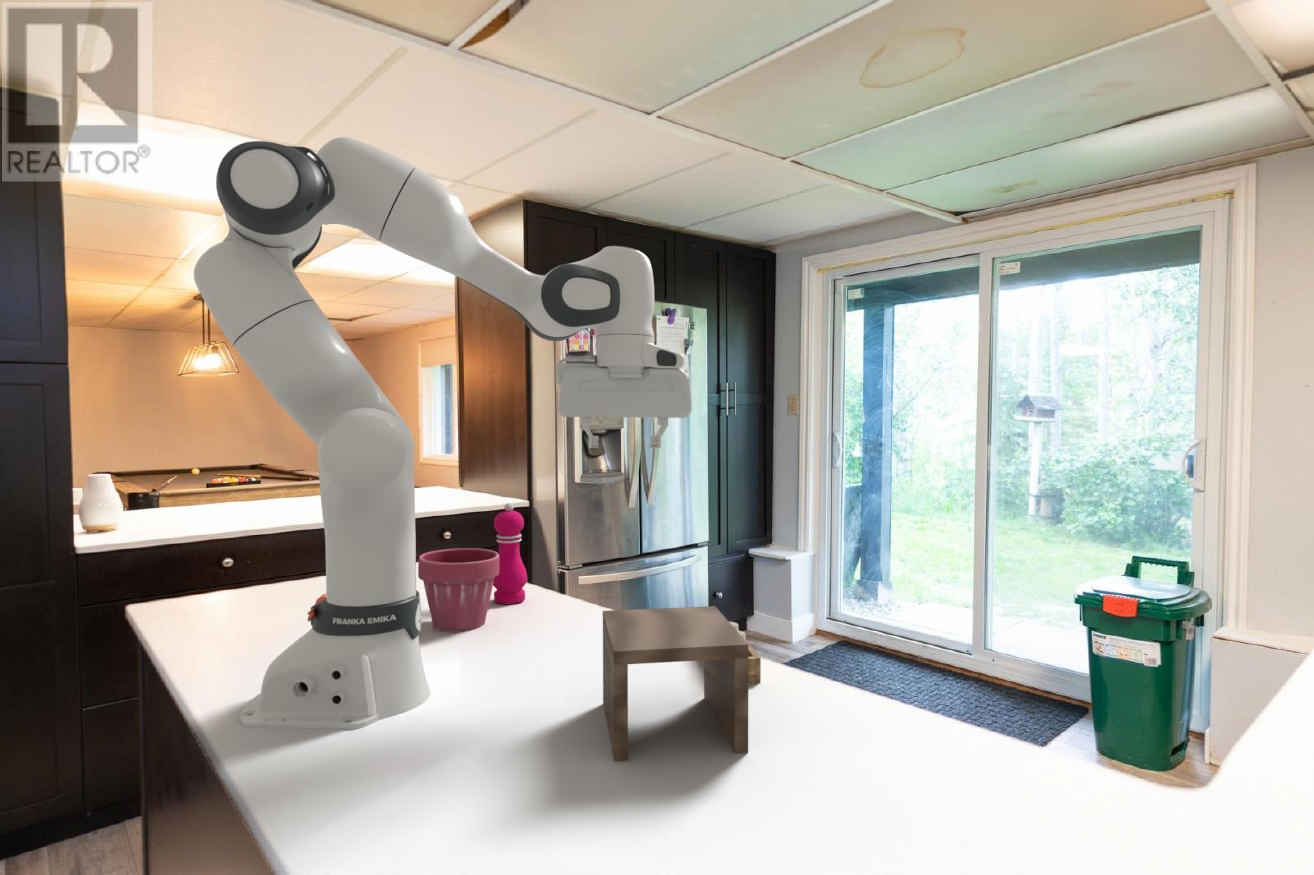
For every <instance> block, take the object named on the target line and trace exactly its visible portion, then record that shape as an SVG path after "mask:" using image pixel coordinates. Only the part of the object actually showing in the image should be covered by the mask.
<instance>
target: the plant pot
mask: <svg viewBox="0 0 1314 875" xmlns="http://www.w3.org/2000/svg"><path fill="white" fill-rule="evenodd" d="M417 566H418V568H417V571H418V572H417V577H418V579H419V580H421V581H423V585H424V590H425V595H426V599H427V604H428V609H429V613H430V618H431V620H432V621H431V622H432V626H433V628H434V629H436V630H437V631H440V630H441V631H440V632H446V631H461V632H465V631H464V630H468V631H472V629H473V630H476V629H479V628H481V627H482V625H483V626H484V625H485V623H486V619H487V614H488V611H489V605H490V602H491V601H490V600H491V598H492V592H493V591H492V590H493V587H494V586H493V582H494V578H495V577H496V576H498V574H499V552H496V551H494V550H491V549H487V548H486V549H485V548H478V547H477V548H474V547H473V548H470V547H469V548H468V547H466V548H465V547H464V548H463V547H462V548H460V547H459V548H447V549H439V550H431V551H428V552H425V553H423V554H421V555H419V557H418V563H417ZM480 626H481V627H480ZM478 627H479V628H478Z"/></svg>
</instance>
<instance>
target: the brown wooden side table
mask: <svg viewBox="0 0 1314 875" xmlns="http://www.w3.org/2000/svg"><path fill="white" fill-rule="evenodd" d="M729 622H730V621H729V620H728V619H727V618H726V617H725V616H724V614H723V613H722V612H721V611H720V610H719V609H718V607H716V606H715V605H714V606H712V605H711V606H710V605H709V606H708V605H707V606H688V607H687V606H686V607H665V608H664V607H662V608H660V607H659V608H645V609H644V608H640V609H624V610H623V609H622V610H621V609H617V610H602V701H603V702H602V704H603V710H604V715H605V721H606V727H607V730H608V731H607V732H608V738H609V741H610V747H611V752H612V758H613V762H614V763H617V762H619V763H620V762H629V729H628V728H629V709H628V708H629V699H628V698H629V696H628V695H629V690H628V689H629V686H628V685H629V681H628V678H629V676H628V675H629V673H628V671H629V670H628V667H629V665H642V664H659V663H661V664H663V663H674V662H675V663H679V662H694V661H695V662H697V661H703V699H704V700H705V702H706V704H707V706H708V708H709V710H710V712H711V714H712V715H713V717H714V719H715V721H716V722H717V724H718V726H719V728H720V729H721V731H722V732H723V735H724V737H725V738H726V741H727V742H728V744H729V745H730V747H731V749H732V751H733V752H734V754H735V755H736V754H739V755H740V754H748V753H749V683H748V643H747V642H746V641H745V640H744V639H743V638H742V636H741V635H740V634H739V633H738V632H737V631H736V630H735V628H734V627H733V626H732V625H731V624H730V623H729Z"/></svg>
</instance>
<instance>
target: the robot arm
mask: <svg viewBox="0 0 1314 875" xmlns="http://www.w3.org/2000/svg"><path fill="white" fill-rule="evenodd" d="M309 154H310V155H312V156H313V157H311V156H310V155H309ZM215 183H216V184H215V187H216V193H217V197H218V201H220V202H219V203H220V205H221V206H222V209H223V212H224V215H225V219H226V221H227V224H228V227H229V228H228V233H227V235H226V237H225V238H224V239H223V240H222V241H220V242H219V243H216V244H214V245H213V246H211V247H210V248H208V249H206V251H205V252H204V253H202V254H201V255H200V256H199V259H197V261H196V264H195V266H194V269H193V279H194V283H195V286H196V288H197V289H198V291H199V293H200V295H201V298H202V299H203V301H204V303H205V305H206V306H207V308H208V310H209V312H210V313H211V316H212V317H213V319H214V320H215V322H216V324H217V325H218V327H219V328H220V330H221V332H222V333H223V334H224V336H225V337H226V338H227V339H228V341H229V343H230V344H231V345H232V346H233V348H234V349H235V350H236V352H237V353H238V354H239V357H241V358H242V360H243V361H244V362H245V363H246V365H247V366H248V367H249V369H250V370H251V371H252V372H253V374H254V375H255V377H256V378H257V379H258V381H259V382H260V383H261V384H262V385H263V387H264V389H266V391H267V392H268V393H269V395H270V396H271V397H272V398H273V400H274V401H275V402H276V403H277V404H278V405H279V406H280V407H281V408H282V409H283V410H284V411H285V412H286V413H287V414H288V415H289V416H290V417H291V418H292V419H293V421H295V423H297V425H298V426H299V427H300V428H301V429H302V431H304V433H305V434H306V435H307V436H308V438H310V440H311V441H312V442H313V443H314V444H315V445H316V446H317V461H318V462H317V464H318V478H319V479H318V480H319V490H320V492H319V493H320V501H321V502H320V503H321V512H322V521H323V522H322V523H323V529H324V531H323V532H324V541H325V542H324V543H325V586H326V588H325V593H323V594H321V595H320V597H318V598H317V599H316V600H315V602H314V604H313V605H312V606H311V607H310V610H309V611H308V612H307V615H308V617H307V621H308V622H310V626H311V629H309V630H307V632H306V633H304V634H303V635H302V636H300V637H299V638H297V640H295V641H294V642H293V643H291V645H289V646H288V647H287V648H286V649H285V650H283V651H282V652H281V653H280V654H279V655H277V656H276V657H275V659H273V660H272V661H271V663H270V664H269V666H268V667H267V669H266V671H265V674H264V675H263V676H264V677H263V680H262V684H261V687H260V688H261V689H260V693H259V694H257V695H255V696H254V697H253V698H252V699H251V700H249V702H247V704H245V706H244V708H242V710H241V713H240V715H239V723H240V725H241V726H242V727H244V728H245V727H247V728H248V727H249V728H278V729H279V728H281V729H282V728H283V729H284V728H285V729H287V728H289V729H290V728H291V729H325V730H326V729H330V730H333V729H334V730H359V729H363V728H366V727H369V726H370V725H373V724H375V723H377V722H379V721H381V720H384V719H388V718H392V717H395V716H398V715H401V714H405V713H407V712H409V711H412V710H413V709H417V708H418V707H419V706H422V705H423V704H424V703H425V702H427V701H428V699H429V698H430V696H431V690H430V686H429V684H428V681H427V677H426V674H425V669H424V664H423V660H422V653H421V646H420V645H421V644H420V636H419V635H420V633H421V629H422V603H421V599H420V592H419V591H418V590H417V564H416V563H417V550H416V548H417V546H416V543H417V540H416V539H417V538H416V537H417V536H416V506H415V505H416V504H415V503H416V502H415V500H416V498H415V494H416V493H415V448H416V447H415V440H414V436H413V432H412V431H411V428H410V427H409V425H408V424H407V422H405V420H404V419H403V417H402V416H401V415H400V414H399V412H398V411H397V409H396V408H395V407H394V406H393V404H392V402H390V400H389V399H388V397H386V394H385V393H384V392H382V389H381V388H380V387H379V385H378V384H377V383H376V382H375V381H374V379H373V377H372V376H371V374H370V373H368V371H367V370H366V368H365V367H364V365H363V364H362V363H361V362H360V360H359V359H358V358H357V357H356V355H355V354H354V352H353V351H352V350H351V348H350V347H349V346H348V344H347V343H346V342H345V340H344V339H343V337H342V336H341V335H340V333H339V332H338V331H337V329H336V328H335V327H334V325H333V324H332V323H331V321H330V319H328V317H327V315H326V314H325V313H324V312H323V310H322V309H321V307H320V306H319V304H318V303H317V301H315V299H314V298H313V297H312V296H311V294H310V293H309V291H307V289H306V287H305V286H304V284H302V282H301V280H300V279H299V277H298V275H297V273H296V271H295V270H296V269H297V267H298V266H299V265H300V264H301V262H303V261H304V259H306V258H307V257H308V256H309V255H310V254H311V253H312V252H313V251H314V249H315V248H316V246H317V245H318V243H319V242H320V240H321V236H322V233H323V232H322V231H323V225H325V226H327V225H340V226H341V225H342V226H346V227H349V228H352V229H355V230H359V231H361V232H362V233H363V234H365V235H367V236H368V237H371V238H372V239H375V240H377V241H378V242H380V243H382V244H384V245H386V246H387V247H390V248H391V249H393V250H396V251H398V252H400V253H402V254H404V255H406V256H409V257H410V258H412V259H415V260H418V261H421V262H423V263H425V264H427V265H430V266H433V267H435V268H437V269H440V270H442V271H444V272H447V273H449V274H451V275H453V276H455V277H457V278H459V279H461V280H463V281H465V282H466V283H468V284H470V285H471V286H473V287H475V288H476V289H478V290H480V291H482V292H484V294H486V295H488V296H490V297H492V298H494V299H495V300H496V301H499V302H500V303H502V304H504V305H505V306H506V307H509V308H510V309H511V310H512V311H514V312H515V313H516V314H517V315H518V316H519V318H520V319H521V320H522V322H524V325H526V326H527V327H528V328H529V329H530V331H531V332H532V333H534V334H535V335H536V336H537V337H539V338H541V339H543V340H545V341H551V342H560V341H566V340H568V339H570V338H572V337H573V336H575V335H576V334H578V333H579V332H581V331H583V330H584V329H588V330H589V329H590V330H593V331H595V335H596V337H595V339H596V340H595V341H596V342H595V348H596V349H595V350H596V351H595V353H596V354H595V355H590V356H589V355H584V356H583V355H582V356H575V355H567V356H566V357H565V358H562V359H560V360H559V361H558V362H557V364H556V367H555V379H556V382H557V384H559V385H560V388H559V393H558V402H557V403H558V404H557V406H558V407H557V412H558V414H559V415H560V416H561V417H563V418H581V426H582V428H583V430H584V431H585V434H587V436H588V448H589V449H592V448H593V449H598V448H599V445H600V444H599V440H600V437H599V435H594V434H593V433H592V431H591V428H590V427H589V426H591V425H592V418H656V420H657V421H656V423H657V424H656V425H657V426H659V428H658V430H657V432H656V433H655V435H650V436H649V441H650V442H649V448H650V449H661V446H662V443H661V442H662V436H663V434H664V433H665V431H666V430H667V428H668V426H669V419H673V418H674V419H680V418H681V419H685V418H688V417H689V416H690V414H691V413H692V409H693V407H692V392H691V385H690V380H689V377H688V376H687V373H686V372H685V371H684V370H683V369H682V368H683V367H684V364H685V357H684V355H683V354H681V353H679V352H677V351H673V350H671V349H667V348H665V347H661V346H658V345H656V344H655V332H654V328H653V325H652V324H653V315H654V312H655V306H656V305H655V283H654V273H653V268H652V264H651V260H650V259H649V257H648V256H647V255H645V253H643V252H642V251H640V250H639V249H635V248H633V247H631V246H630V247H629V246H624V245H610V246H609V245H608V246H605V247H603V248H602V249H601V250H600V251H599V252H597V253H595V254H594V255H591V256H589V257H586V258H584V259H581V260H579V261H578V260H577V261H574V262H571V263H565V264H561V265H558V266H555V267H554V268H553V269H551V270H549V272H547V273H546V274H545V275H543V274H542V275H541V274H536V273H533V272H531V271H528V270H527V269H526V268H524V267H522V266H521V265H519V264H517V263H516V262H514V261H512V260H511V259H510V258H508V257H506V256H504V255H503V254H502V253H500V252H498V251H497V250H495V249H493V248H492V247H490V246H489V245H488V244H487V243H485V241H483V239H481V237H480V236H479V235H478V234H477V232H476V230H475V229H474V227H473V225H472V223H471V221H470V219H469V216H468V214H467V211H466V209H465V207H464V204H463V203H462V201H461V199H460V198H459V197H458V196H457V194H455V193H454V192H452V191H451V190H450V189H449V188H448V187H446V186H445V185H444V184H443V183H442V182H440V181H439V180H437V178H434V177H433V176H431V175H430V174H428V173H427V172H425V171H423V170H422V169H420V168H417V167H416V166H414V165H412V164H411V163H409V162H407V161H406V160H404V159H401V158H399V157H397V156H395V155H394V154H391V153H389V152H387V151H385V150H382V149H380V148H378V147H375V146H373V145H370V144H367V143H366V142H363V141H359V140H356V139H354V138H352V137H345V136H341V137H336V138H333V139H331V140H329V141H327V142H326V143H325V144H324V145H323V146H322V147H321V148H320V149H319V150H318V151H317V153H316V152H315V151H314V150H312V149H311V148H308V147H305V146H297V145H296V146H293V145H284V144H281V143H277V142H273V141H265V140H254V141H246V142H243V143H240V144H237V145H235V146H233V147H232V148H231V149H229V151H227V153H226V154H225V155H224V156H223V157H222V159H221V161H220V163H219V165H218V168H217V172H216V179H215ZM564 362H565V363H564Z"/></svg>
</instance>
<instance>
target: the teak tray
mask: <svg viewBox="0 0 1314 875" xmlns="http://www.w3.org/2000/svg"><path fill="white" fill-rule="evenodd" d="M729 623H730V624H731V625H732V626H733V627H734V628H735V630H736V631H737V632H738V633H739V634H740V635H741V636H742V638H743V639H744V640H745V641H746V642H747V643H748V684H758V683H762V682H761V680H762V678H761V670H762V669H761V667H762V666H761V663H762V662H761V661H762V660H761V657H760V655H759V654H758V653H757V652H756V650H755V649H754V647H753V646H752V645H751V644H750V643H749V640H747V638H746V637H747V636H746V633H745V632H744V631H741V630H740V629H739V624H738V622H734V621H729Z"/></svg>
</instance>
